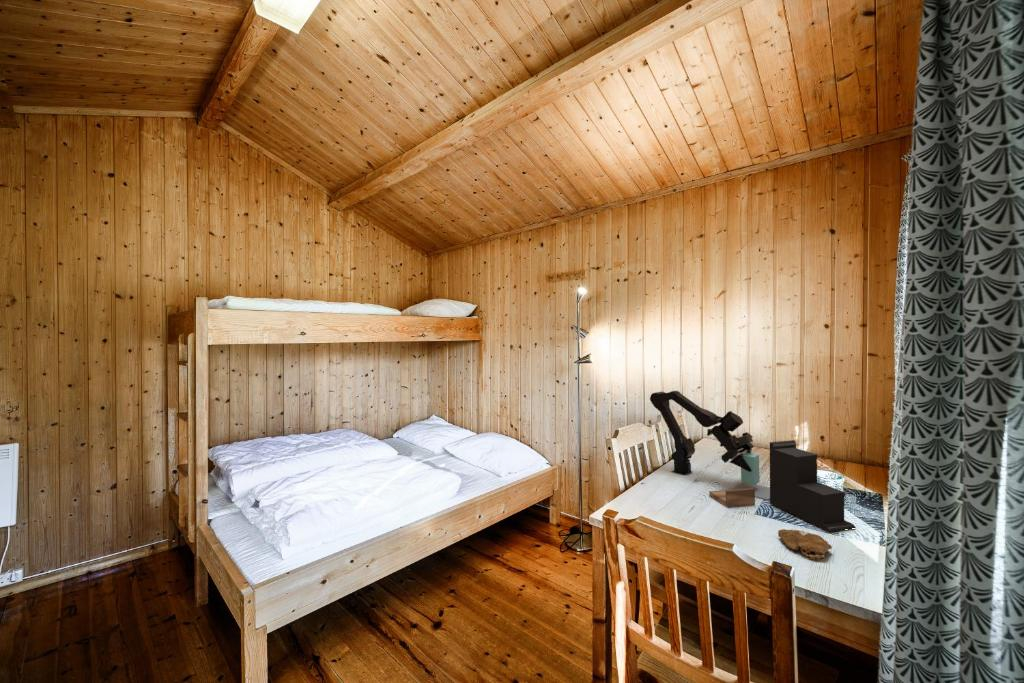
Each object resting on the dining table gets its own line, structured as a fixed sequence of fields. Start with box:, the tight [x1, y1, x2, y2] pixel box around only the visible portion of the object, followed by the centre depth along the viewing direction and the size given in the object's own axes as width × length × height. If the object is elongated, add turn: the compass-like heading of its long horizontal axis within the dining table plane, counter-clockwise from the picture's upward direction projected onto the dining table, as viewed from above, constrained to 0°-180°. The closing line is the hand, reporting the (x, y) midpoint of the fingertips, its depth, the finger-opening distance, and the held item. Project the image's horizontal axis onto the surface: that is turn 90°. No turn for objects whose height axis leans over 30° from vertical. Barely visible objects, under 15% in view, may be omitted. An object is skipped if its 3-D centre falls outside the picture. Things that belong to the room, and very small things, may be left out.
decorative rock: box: [777, 528, 833, 560], centre depth 121 cm, size 11×4×15 cm
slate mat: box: [731, 482, 770, 501], centre depth 166 cm, size 14×14×1 cm
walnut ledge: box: [709, 488, 756, 508], centre depth 157 cm, size 11×11×6 cm
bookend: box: [769, 439, 857, 533], centre depth 143 cm, size 23×11×24 cm, turn 11°
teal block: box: [740, 452, 761, 485], centre depth 168 cm, size 5×5×11 cm
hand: (753, 469), depth 167 cm, fingers closed on teal block, 5 cm apart
